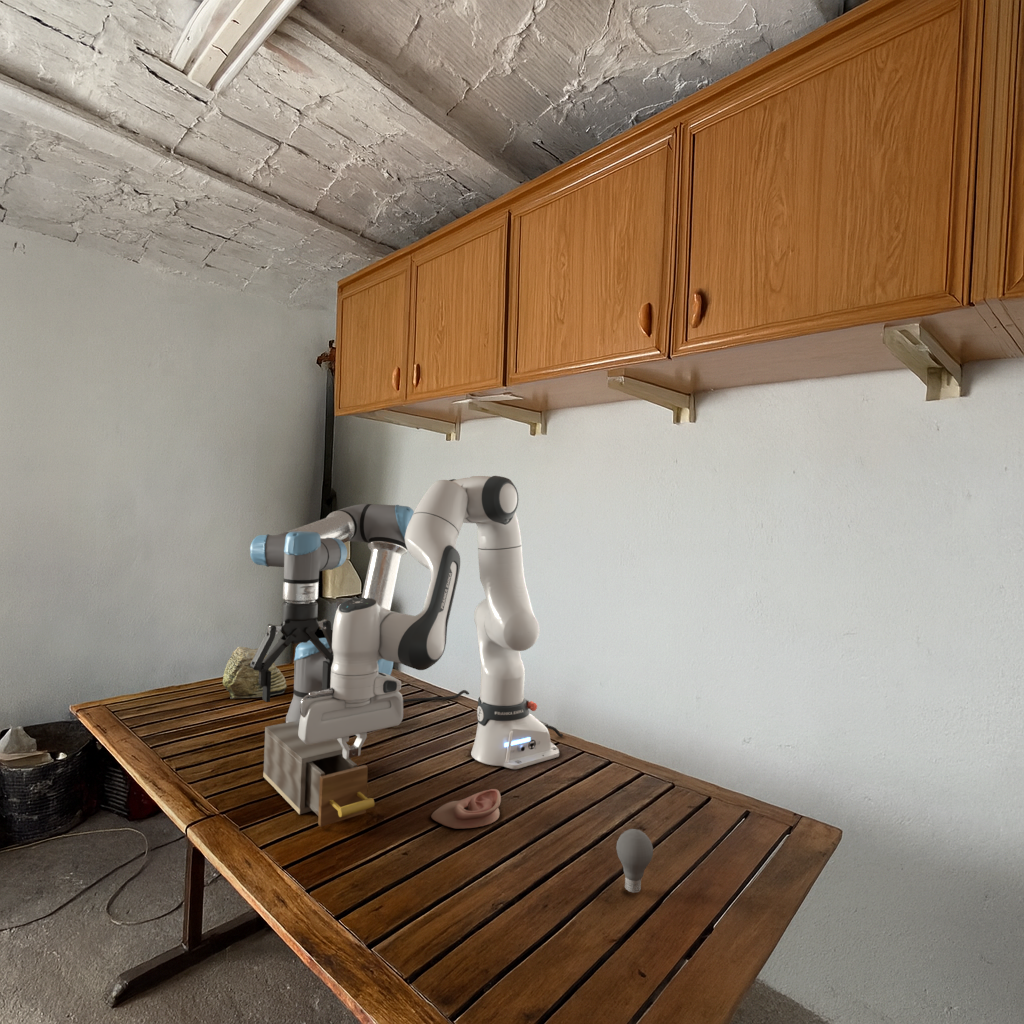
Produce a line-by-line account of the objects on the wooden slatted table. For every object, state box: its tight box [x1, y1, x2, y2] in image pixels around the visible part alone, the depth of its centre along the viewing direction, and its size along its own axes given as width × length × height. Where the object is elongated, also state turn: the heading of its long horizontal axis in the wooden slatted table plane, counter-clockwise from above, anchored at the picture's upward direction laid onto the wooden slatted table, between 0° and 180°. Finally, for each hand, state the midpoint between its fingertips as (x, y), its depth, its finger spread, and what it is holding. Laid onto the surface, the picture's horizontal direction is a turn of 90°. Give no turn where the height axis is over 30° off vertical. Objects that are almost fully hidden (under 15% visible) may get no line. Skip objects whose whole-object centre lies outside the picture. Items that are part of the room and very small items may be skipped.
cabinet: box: [262, 720, 352, 815], centre depth 137 cm, size 21×11×11 cm, turn 40°
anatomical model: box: [430, 788, 502, 830], centre depth 128 cm, size 13×4×12 cm
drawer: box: [305, 754, 375, 828], centre depth 128 cm, size 25×9×9 cm, turn 40°
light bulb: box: [615, 828, 654, 894], centre depth 106 cm, size 6×6×10 cm
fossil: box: [222, 646, 288, 699], centre depth 198 cm, size 9×18×15 cm, turn 132°
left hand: (296, 695), depth 142 cm, fingers open, 13 cm apart
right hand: (351, 756), depth 121 cm, fingers closed
